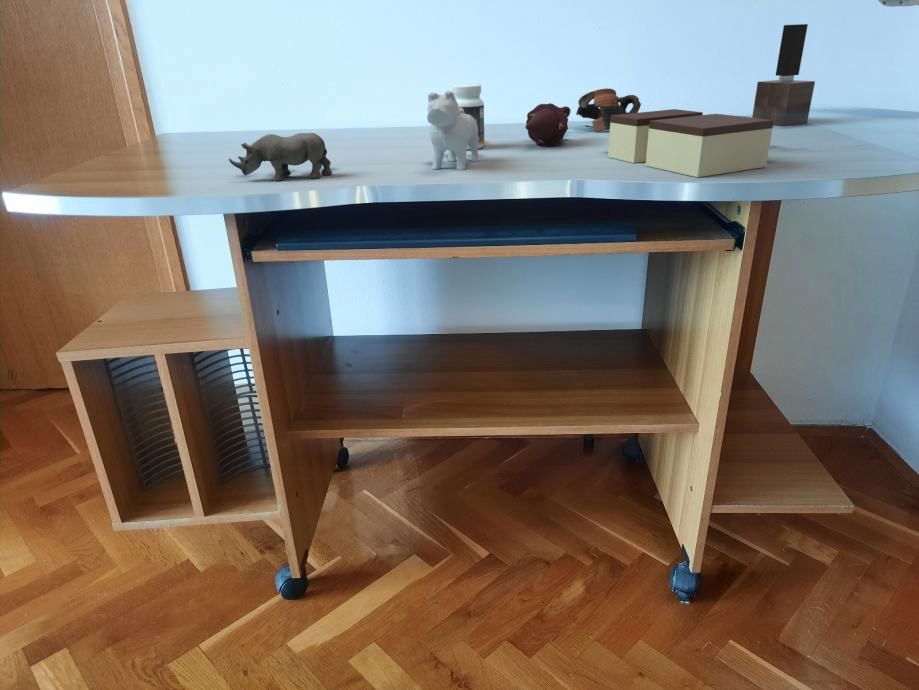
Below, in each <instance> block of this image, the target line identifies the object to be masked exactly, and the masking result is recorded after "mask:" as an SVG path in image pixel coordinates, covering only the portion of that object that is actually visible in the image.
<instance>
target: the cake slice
mask: <svg viewBox="0 0 919 690" xmlns="http://www.w3.org/2000/svg"><path fill="white" fill-rule="evenodd" d="M699 115H704V112H702V111H695V110H686V109H676V108H671V109H662V110H661V109H660V110H653V111H639V112H638V113H630V114H620V115H611V120H610V122H611V123H610V129H609V138H608V151H607V152H608V153H607V157H608V158H609V159H614V160H619V161H623V162H626V163H627V162H628V163H632V164H637V163H646V155H647V144H648V133H649V122H650V121H652V120H662V119H671V118H681V117H690V116H699Z"/></svg>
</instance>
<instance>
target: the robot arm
mask: <svg viewBox="0 0 919 690" xmlns="http://www.w3.org/2000/svg"><path fill="white" fill-rule="evenodd" d="M877 1H878V2H879V3H880V4H881V5H883V6H886V7H887V8H888V7H889V8H894V7H895V8H896V7H913V6H919V0H877Z"/></svg>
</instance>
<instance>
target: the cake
mask: <svg viewBox="0 0 919 690" xmlns="http://www.w3.org/2000/svg"><path fill="white" fill-rule="evenodd" d="M773 123H774V120H768V119H759V118H752V117H750V116H740V115H733V114H732V115H730V114H724V113H723V114H722V113H709V114H703V115H699V116H690V117H681V118H671V119H662V120H652V121H650V122H649V133H648V144H647V155H646V162H645V166H646V167H649V168H654V169H657V170H658V169H659V170H662V171H666V172H671V173H675V174H679V175H680V174H681V175H685V176H689V177H694V178H704V177H710V176H711V177H712V176H715V175H716V176H717V175H723V174H730V173H736V172H742V171H749V170H755V169H763V168H766V167H767V163H768V157H769V150H770V146H771V140H772V133H773V128H774V126H773Z"/></svg>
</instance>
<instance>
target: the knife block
mask: <svg viewBox="0 0 919 690" xmlns="http://www.w3.org/2000/svg"><path fill="white" fill-rule="evenodd" d="M815 84H816V81H815V80H797V79H796V80H795V79H794V80H793V81H790V82H779V79H772V80H763V81H761V80H760V81H757V84H756V91H755V97H754V103H753V109H752V116H751V118H759V119H768V120H774V123H773V127H783V128H784V127H792V126H801V125H807V124H808V120H809V115H810V110H811V105H812V100H813V99H812V98H813V94H814V89H815Z"/></svg>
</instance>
